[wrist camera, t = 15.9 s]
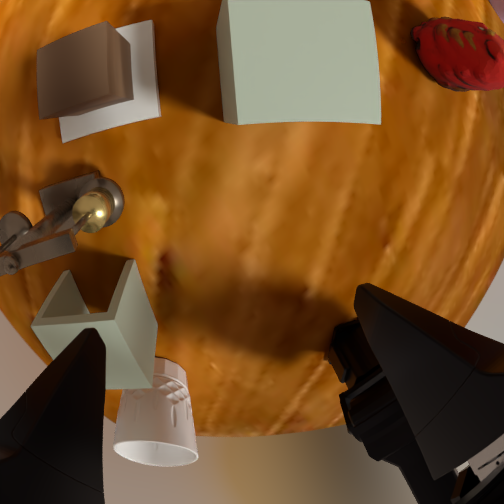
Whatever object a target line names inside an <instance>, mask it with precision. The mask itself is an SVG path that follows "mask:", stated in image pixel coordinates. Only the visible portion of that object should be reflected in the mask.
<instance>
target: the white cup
mask: <svg viewBox="0 0 504 504" xmlns="http://www.w3.org/2000/svg"><path fill="white" fill-rule="evenodd" d="M113 449H114V451H115V452H117V453H118V454H119V455H121V456H122V457H124V458H126V459H129V460H131V461H134V462H138V463H143V464H147V465H154V466H181V465H187V464H190V463H193V462H195V461H196V460H197V459H198V451H197V444H196V438H195V430H194V422H193V416H192V408H191V403H190V395H189V393H188V383H187V377H186V372H185V371H184V370H183V369H182V368H181V367H180V366H179V365H178V364H177V363H174V362H172V361H169V360H167V359H164V358H157V357H155V358H154V371H153V385H152V388H142V389H123V391H122V396H121V400H120V406H119V409H118V415H117V422H116V429H115V437H114V443H113Z"/></svg>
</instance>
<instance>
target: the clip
mask: <svg viewBox="0 0 504 504" xmlns="http://www.w3.org/2000/svg"><path fill="white" fill-rule="evenodd" d="M489 1H490V3H491V5H492V7H493V8H494V10H495V11H496V13H497V14H498V16H499V17H500V19H501V20H502V21H503V23H504V0H489Z"/></svg>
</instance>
